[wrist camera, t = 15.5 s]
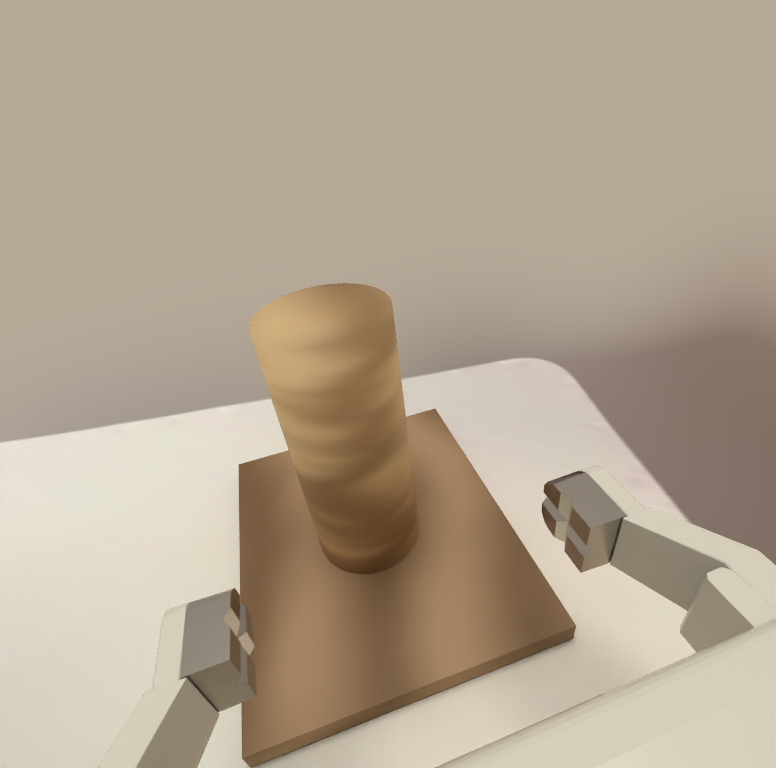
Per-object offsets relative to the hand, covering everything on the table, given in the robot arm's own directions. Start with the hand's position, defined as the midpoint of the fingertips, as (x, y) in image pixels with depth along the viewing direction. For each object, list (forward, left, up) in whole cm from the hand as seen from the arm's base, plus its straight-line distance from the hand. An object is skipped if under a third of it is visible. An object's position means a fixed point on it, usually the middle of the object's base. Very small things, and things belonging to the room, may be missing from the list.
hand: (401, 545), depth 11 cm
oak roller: (0, +8, -9) cm, 12 cm away
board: (0, +8, -10) cm, 12 cm away
